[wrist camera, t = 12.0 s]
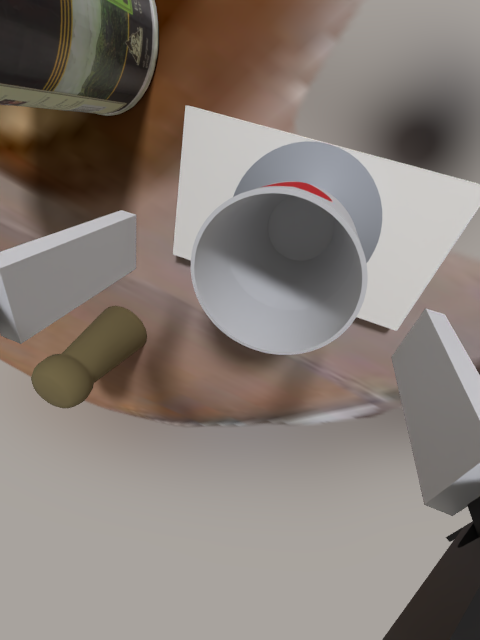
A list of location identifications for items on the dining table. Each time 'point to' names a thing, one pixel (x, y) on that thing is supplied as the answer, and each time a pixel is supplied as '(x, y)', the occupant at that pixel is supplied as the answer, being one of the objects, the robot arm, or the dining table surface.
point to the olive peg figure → (89, 357)
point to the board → (341, 182)
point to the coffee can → (77, 53)
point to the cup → (280, 268)
